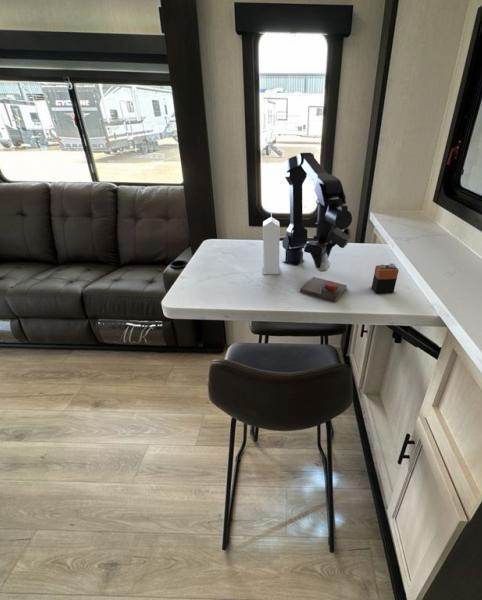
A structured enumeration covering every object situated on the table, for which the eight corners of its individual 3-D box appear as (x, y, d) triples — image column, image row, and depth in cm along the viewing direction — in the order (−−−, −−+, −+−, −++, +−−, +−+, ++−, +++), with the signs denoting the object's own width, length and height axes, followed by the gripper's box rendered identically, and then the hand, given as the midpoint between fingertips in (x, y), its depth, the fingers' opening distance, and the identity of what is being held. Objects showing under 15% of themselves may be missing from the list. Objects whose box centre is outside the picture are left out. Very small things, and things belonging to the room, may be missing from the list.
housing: (299, 292, 105) (299, 283, 103) (313, 280, 114) (313, 271, 112) (335, 303, 100) (336, 293, 98) (347, 289, 109) (348, 280, 107)
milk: (278, 268, 123) (279, 212, 112) (279, 274, 117) (280, 217, 106) (263, 267, 122) (263, 212, 111) (263, 274, 117) (262, 217, 106)
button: (323, 289, 101) (324, 284, 101) (327, 285, 104) (328, 280, 103) (333, 292, 100) (334, 287, 99) (337, 287, 103) (338, 283, 102)
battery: (394, 293, 107) (400, 267, 102) (375, 294, 106) (381, 267, 101) (388, 287, 111) (394, 261, 106) (370, 288, 110) (375, 262, 105)
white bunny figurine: (315, 274, 104) (317, 252, 100) (312, 266, 110) (313, 245, 105) (331, 273, 104) (333, 252, 100) (327, 266, 110) (329, 245, 106)
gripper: (339, 232, 88) (333, 280, 96) (358, 217, 102) (352, 260, 110) (304, 225, 92) (301, 272, 100) (328, 212, 106) (324, 254, 114)
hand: (321, 264), depth 106 cm, fingers closed on white bunny figurine, 6 cm apart
